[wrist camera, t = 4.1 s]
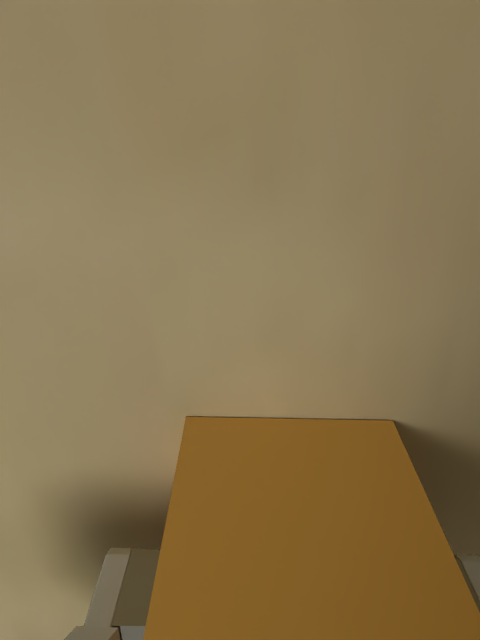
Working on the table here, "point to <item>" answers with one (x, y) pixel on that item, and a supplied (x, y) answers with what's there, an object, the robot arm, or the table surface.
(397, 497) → the orange cube with knob
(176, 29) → the table surface
